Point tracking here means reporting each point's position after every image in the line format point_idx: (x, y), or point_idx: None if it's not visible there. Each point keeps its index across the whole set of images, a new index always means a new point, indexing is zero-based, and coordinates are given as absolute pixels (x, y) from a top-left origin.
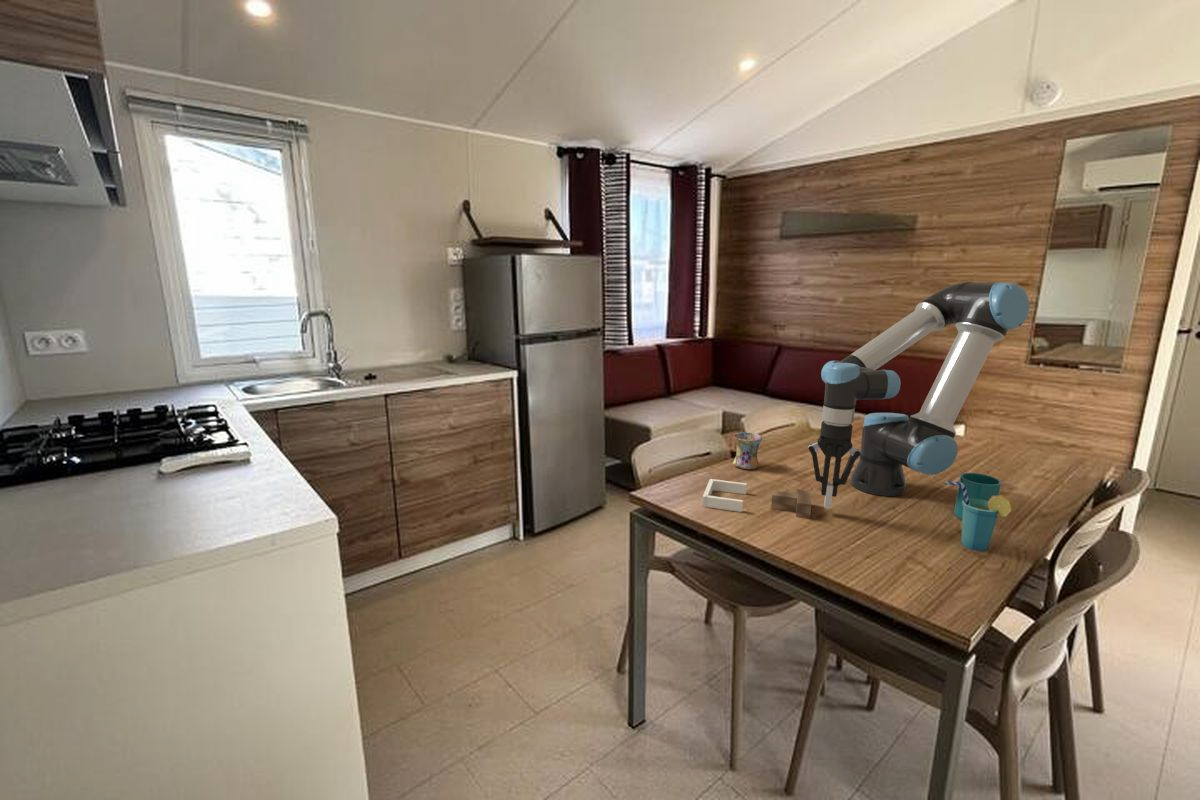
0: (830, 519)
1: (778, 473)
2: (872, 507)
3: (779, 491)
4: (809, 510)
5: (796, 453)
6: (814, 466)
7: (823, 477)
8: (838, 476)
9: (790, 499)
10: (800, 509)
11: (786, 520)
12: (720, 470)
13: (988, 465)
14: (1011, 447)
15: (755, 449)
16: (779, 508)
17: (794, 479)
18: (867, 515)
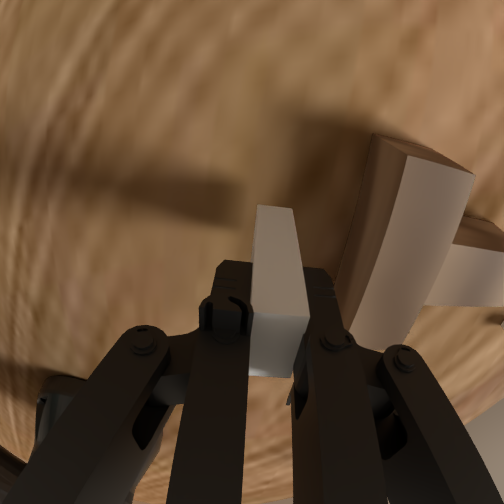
0: (261, 145)
1: None
2: (83, 312)
3: (486, 304)
4: (397, 146)
5: (270, 489)
6: (483, 473)
7: (366, 386)
8: (190, 410)
9: (470, 241)
10: (439, 156)
11: (477, 105)
12: (473, 412)
13: (8, 433)
14: (15, 452)
15: None
16: (474, 220)
17: None
18: (88, 241)
